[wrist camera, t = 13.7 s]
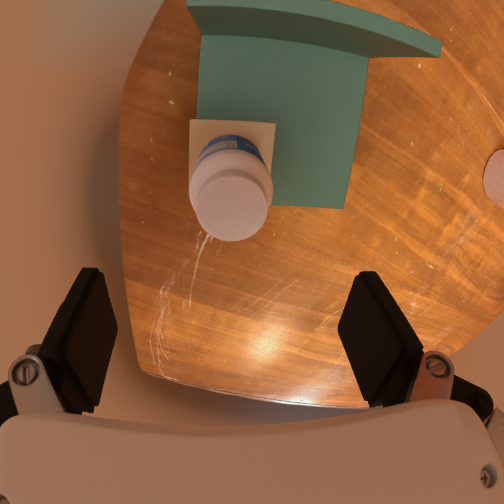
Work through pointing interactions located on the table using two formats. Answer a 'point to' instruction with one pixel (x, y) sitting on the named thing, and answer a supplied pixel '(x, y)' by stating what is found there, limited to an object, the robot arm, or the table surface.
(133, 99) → the table surface
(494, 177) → the mug
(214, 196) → the pill bottle
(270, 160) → the green toy chair
